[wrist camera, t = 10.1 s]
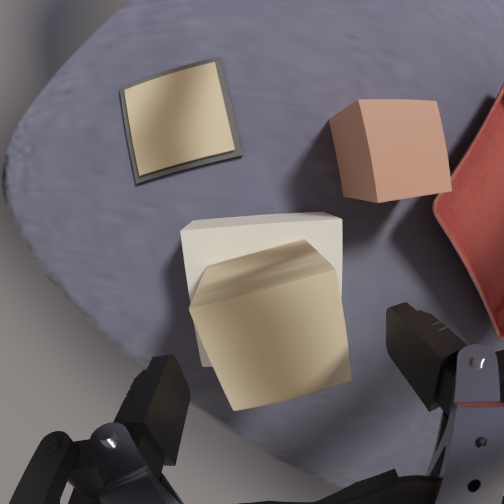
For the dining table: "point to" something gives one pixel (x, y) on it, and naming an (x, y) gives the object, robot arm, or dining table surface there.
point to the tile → (179, 120)
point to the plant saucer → (480, 212)
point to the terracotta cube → (390, 149)
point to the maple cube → (273, 325)
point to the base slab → (255, 243)
